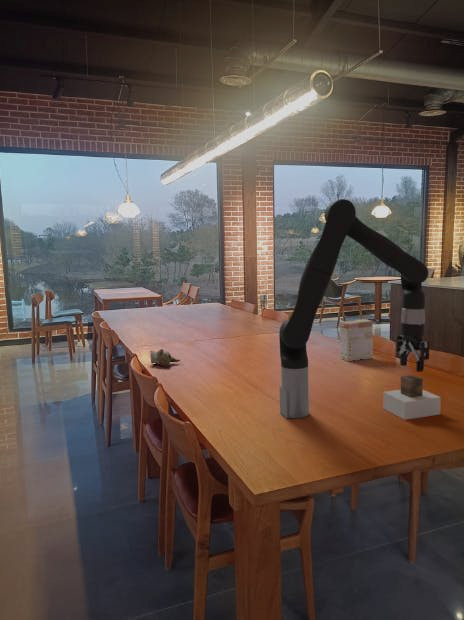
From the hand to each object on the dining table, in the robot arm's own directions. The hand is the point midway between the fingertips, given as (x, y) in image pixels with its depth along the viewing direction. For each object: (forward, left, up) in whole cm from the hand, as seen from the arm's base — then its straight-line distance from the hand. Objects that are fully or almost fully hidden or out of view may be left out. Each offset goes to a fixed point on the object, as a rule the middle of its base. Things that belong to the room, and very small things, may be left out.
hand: (411, 368), depth 159 cm
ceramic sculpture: (-72, +101, -16) cm, 125 cm away
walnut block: (0, 0, -9) cm, 9 cm away
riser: (0, 0, -15) cm, 15 cm away
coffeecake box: (+23, +74, -16) cm, 79 cm away
